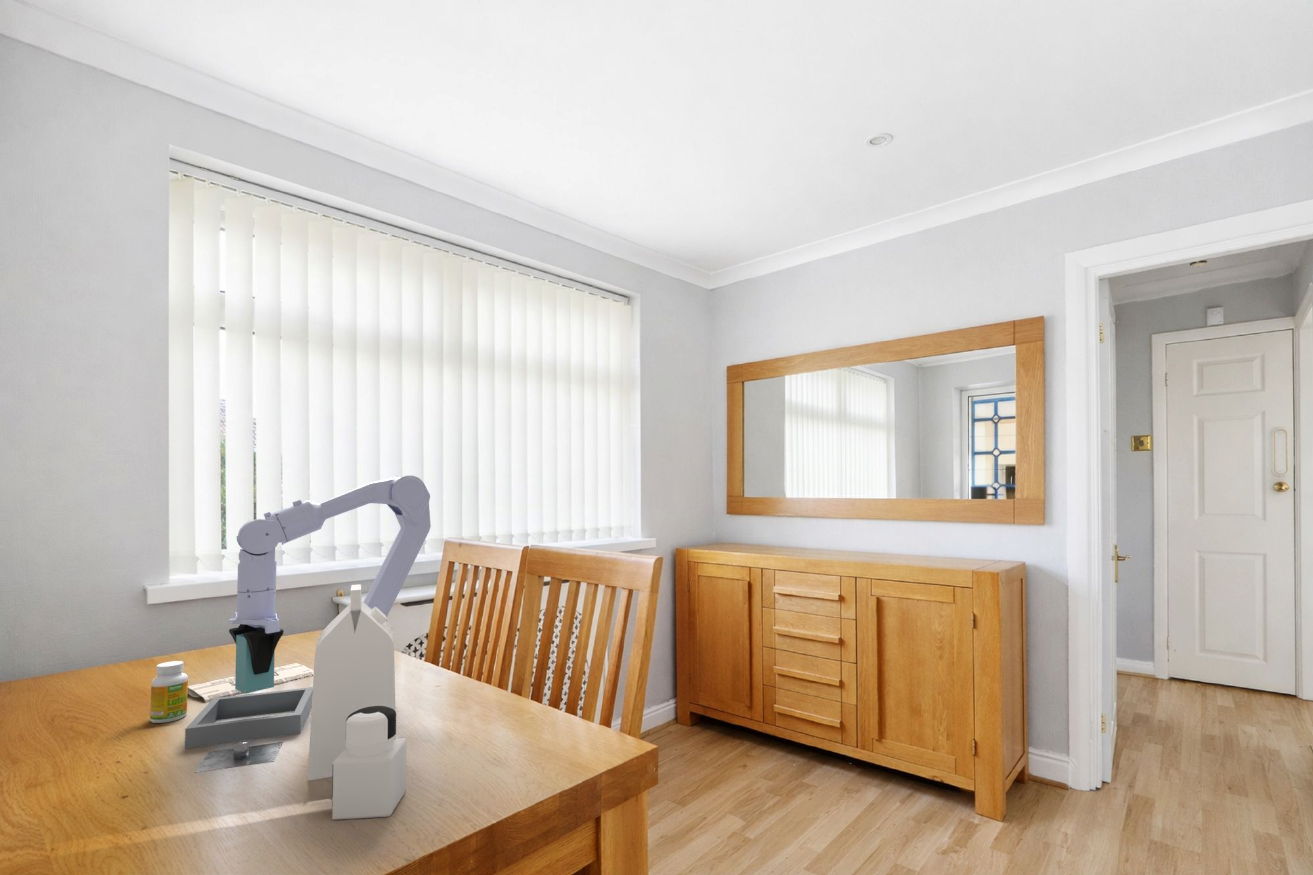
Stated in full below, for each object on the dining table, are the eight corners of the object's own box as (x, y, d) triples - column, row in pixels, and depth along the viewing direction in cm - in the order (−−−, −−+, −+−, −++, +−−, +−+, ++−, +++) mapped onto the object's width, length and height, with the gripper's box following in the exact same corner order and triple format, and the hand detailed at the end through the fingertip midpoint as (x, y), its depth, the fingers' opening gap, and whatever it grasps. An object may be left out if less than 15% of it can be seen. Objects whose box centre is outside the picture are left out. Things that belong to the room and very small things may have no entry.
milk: (313, 756, 102) (316, 584, 104) (394, 743, 107) (395, 579, 109) (307, 788, 91) (309, 596, 93) (397, 772, 96) (398, 589, 98)
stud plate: (283, 748, 106) (283, 728, 106) (273, 768, 98) (274, 747, 98) (209, 758, 102) (209, 738, 102) (193, 779, 95) (194, 758, 95)
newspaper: (289, 669, 154) (290, 658, 154) (316, 683, 147) (317, 672, 147) (174, 695, 135) (175, 682, 135) (199, 712, 128) (200, 699, 128)
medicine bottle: (352, 794, 89) (353, 702, 90) (406, 791, 90) (407, 700, 91) (330, 821, 82) (332, 721, 83) (390, 817, 83) (391, 718, 84)
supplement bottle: (167, 724, 117) (169, 668, 118) (142, 723, 118) (143, 667, 119) (194, 714, 122) (195, 660, 123) (169, 712, 123) (171, 659, 124)
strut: (263, 682, 116) (264, 630, 117) (273, 687, 114) (274, 633, 114) (235, 688, 113) (236, 634, 113) (245, 693, 110) (246, 638, 111)
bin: (313, 708, 124) (313, 686, 124) (300, 739, 109) (300, 714, 109) (212, 721, 118) (213, 698, 119) (184, 755, 103) (185, 728, 104)
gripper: (215, 589, 116) (213, 668, 115) (247, 597, 107) (245, 683, 106) (259, 583, 121) (258, 659, 120) (294, 591, 112) (292, 673, 111)
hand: (255, 670), depth 113 cm, fingers closed on strut, 4 cm apart
